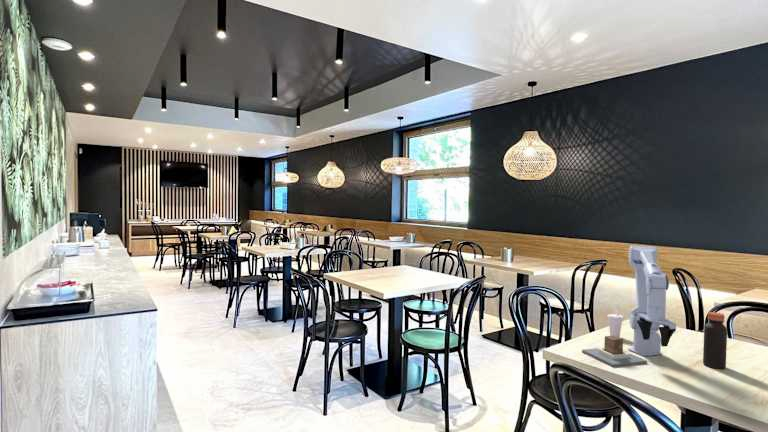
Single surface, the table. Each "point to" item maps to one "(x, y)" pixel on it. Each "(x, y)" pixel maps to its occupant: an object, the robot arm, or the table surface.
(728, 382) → the table surface
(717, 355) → the bottle
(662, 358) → the table surface
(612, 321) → the smoothie
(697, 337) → the table surface
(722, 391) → the table surface
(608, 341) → the peg
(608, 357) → the holder
